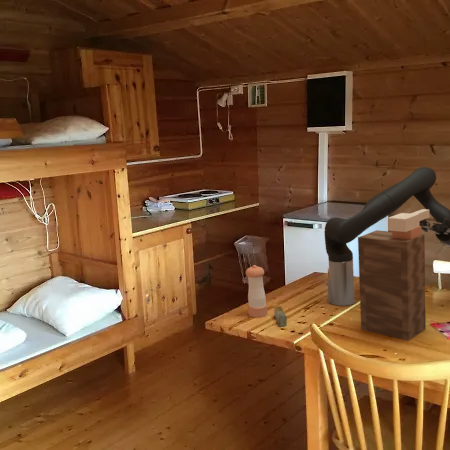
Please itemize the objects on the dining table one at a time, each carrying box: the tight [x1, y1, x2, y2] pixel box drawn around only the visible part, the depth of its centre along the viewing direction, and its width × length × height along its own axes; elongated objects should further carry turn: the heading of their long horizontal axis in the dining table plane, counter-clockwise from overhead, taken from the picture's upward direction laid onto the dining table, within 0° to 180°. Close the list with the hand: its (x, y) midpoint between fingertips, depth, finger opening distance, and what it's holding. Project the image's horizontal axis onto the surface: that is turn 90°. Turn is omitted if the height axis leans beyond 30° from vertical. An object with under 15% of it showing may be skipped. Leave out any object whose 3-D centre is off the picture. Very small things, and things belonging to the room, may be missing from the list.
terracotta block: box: [391, 226, 422, 240], centre depth 174 cm, size 7×6×3 cm
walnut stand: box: [357, 229, 427, 342], centre depth 180 cm, size 12×17×32 cm
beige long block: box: [387, 208, 430, 232], centre depth 176 cm, size 20×6×4 cm, turn 135°
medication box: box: [273, 305, 288, 328], centre depth 198 cm, size 12×3×4 cm, turn 4°
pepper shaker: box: [245, 264, 268, 318], centre depth 206 cm, size 7×7×19 cm
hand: (432, 220), depth 187 cm, fingers open, 8 cm apart
